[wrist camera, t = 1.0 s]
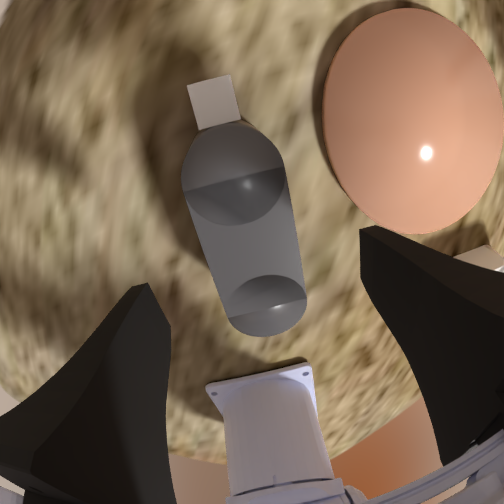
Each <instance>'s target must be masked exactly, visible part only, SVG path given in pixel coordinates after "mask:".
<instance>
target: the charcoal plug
mask: <svg viewBox="0 0 504 504" xmlns="http://www.w3.org/2000/svg"><path fill="white" fill-rule="evenodd" d="M187 88H188V92H189V96H190V99H191V103H192V107H193V110H194V114H195V118H196V121H197V125H198V129H199V130H200V131H199V132H198V134H197V135H196V136H195V138H194V140H193V142H192V144H191V146H190V148H189V151H188V153H187V155H186V157H185V159H184V162H183V165H182V171H181V185H182V189H183V193H184V196H185V199H186V202H187V205H188V208H189V211H190V214H191V217H192V220H193V223H194V226H195V229H196V232H197V235H198V238H199V240H200V243H201V246H202V249H203V252H204V255H205V258H206V260H207V263H208V266H209V269H210V271H211V274H212V277H213V280H214V282H215V285H216V288H217V291H218V293H219V296H220V299H221V301H222V304H223V307H224V309H225V312H226V315H227V317H228V319H229V322H230V323H231V324H232V326H233V327H234V328H236V329H237V330H238V331H240V332H242V333H244V334H247V335H250V336H256V337H267V336H273V335H277V334H280V333H282V332H284V331H286V330H288V329H290V328H291V327H293V326H294V325H295V324H296V323H297V322H298V321H299V320H300V319H301V318H302V316H303V314H304V312H305V310H306V306H307V297H306V290H305V283H304V276H303V270H302V264H301V257H300V251H299V245H298V239H297V233H296V227H295V221H294V215H293V210H292V204H291V199H290V193H289V188H288V183H287V177H286V172H285V167H284V163H283V160H282V157H281V155H280V153H279V151H278V150H277V148H276V147H275V145H274V144H273V143H272V142H271V141H270V140H269V139H268V138H267V137H265V136H264V135H263V134H262V133H261V132H260V131H259V130H257V129H256V128H255V127H254V126H253V125H251V124H249V123H247V122H245V121H243V120H240V119H241V117H240V113H239V109H238V105H237V101H236V97H235V93H234V89H233V85H232V81H231V77H230V74H229V75H225V76H220V77H216V78H212V79H208V80H205V81H201V82H197V83H194V84H190V85H187Z"/></svg>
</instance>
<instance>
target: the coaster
mask: <svg viewBox="0 0 504 504" xmlns="http://www.w3.org/2000/svg"><path fill="white" fill-rule="evenodd" d="M322 128H323V137H324V142H325V146H326V151H327V155H328V157H329V160H330V163H331V166H332V169H333V171H334V173H335V175H336V177H337V179H338V181H339V183H340V185H341V186H342V188H343V189H344V191H345V192H346V194H347V195H348V197H349V198H350V199H351V200H352V201H353V202H354V204H355V205H356V206H357V207H358V208H359V209H360V210H361V211H363V212H364V213H365V214H366V215H367V216H368V217H369V218H371V219H372V220H373V221H375V222H377V223H378V224H380V225H381V226H383V227H386V228H388V229H390V230H392V231H396V232H400V233H405V234H425V233H430V232H434V231H437V230H440V229H443V228H445V227H447V226H449V225H451V224H453V223H454V222H456V221H457V220H459V219H460V218H461V217H463V216H464V215H465V214H466V213H467V212H468V211H470V210H471V209H472V208H473V206H474V205H475V204H476V203H477V202H478V201H479V199H480V198H481V196H482V195H483V194H484V192H485V191H486V189H487V187H488V185H489V183H490V182H491V180H492V177H493V175H494V173H495V170H496V167H497V164H498V161H499V158H500V153H501V149H502V142H503V132H504V118H503V107H502V100H501V95H500V91H499V88H498V84H497V81H496V79H495V76H494V73H493V71H492V69H491V67H490V65H489V63H488V61H487V59H486V58H485V56H484V54H483V53H482V51H481V50H480V49H479V47H478V46H477V45H476V43H475V42H474V41H473V40H472V39H471V38H470V37H469V36H468V35H467V34H466V33H465V32H464V31H463V30H462V29H461V28H459V27H458V26H457V25H456V24H454V23H453V22H451V21H449V20H448V19H446V18H444V17H443V16H440V15H438V14H435V13H433V12H430V11H426V10H422V9H415V8H401V9H393V10H389V11H386V12H383V13H380V14H377V15H374V16H373V17H371V18H369V19H367V20H365V21H363V22H362V23H361V24H360V25H358V26H357V27H356V28H354V29H353V30H352V31H351V32H350V34H349V35H348V36H347V37H346V38H345V39H344V40H343V42H342V43H341V45H340V47H339V48H338V50H337V51H336V53H335V55H334V57H333V60H332V62H331V64H330V67H329V69H328V73H327V77H326V80H325V84H324V90H323V98H322Z"/></svg>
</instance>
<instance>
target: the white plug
mask: <svg viewBox="0 0 504 504" xmlns="http://www.w3.org/2000/svg"><path fill="white" fill-rule="evenodd" d="M453 258H456V259H459V260H462V261H465V262H468V263H471V264H474V265H477V266H480V267H484V268H487V269H491V270H495V271H499V272H503V273H504V257H503V256H501V255H500V254H499V253H498V252H497V251H495V250H494V249H493V248H492V247H491V246H489V245H483V246H481V247H478V248H475V249H473V250H470V251H468V252H465V253H462V254H460V255H457V256H454V257H453Z"/></svg>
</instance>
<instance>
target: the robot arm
mask: <svg viewBox="0 0 504 504" xmlns="http://www.w3.org/2000/svg"><path fill="white" fill-rule="evenodd" d="M359 235H360V277H361V280H362V283H363V285H364V287H365V289H366V291H367V293H368V295H369V297H370V299H371V301H372V303H373V304H374V306H375V308H376V309H377V311H378V312H379V314H380V315H381V317H382V318H383V320H384V321H385V323H386V325H387V326H388V328H389V329H390V331H391V332H392V334H393V336H394V337H395V339H396V340H397V342H398V344H399V345H400V347H401V348H402V350H403V352H404V354H405V356H406V358H407V360H408V362H409V364H410V366H411V369H412V371H413V373H414V375H415V378H416V380H417V383H418V385H419V388H420V390H421V393H422V395H423V398H424V401H425V404H426V407H427V409H428V413H429V416H430V419H431V422H432V425H433V429H434V433H435V437H436V441H437V446H438V450H439V454H440V460H441V462H442V464H443V467H442V468H440V469H438V470H436V471H434V472H432V473H430V474H428V475H426V476H424V477H422V478H420V479H418V480H416V481H414V482H412V483H410V484H407V485H405V486H403V487H400V488H398V489H395V490H393V491H391V492H388V493H386V494H383V495H380V496H378V497H375V498H372V499H370V500H367V498H366V497H365V495H364V494H363V493H362V492H361V491H360V490H358V489H355V488H354V487H353V486H350V485H347V486H343V482H342V479H341V478H337V479H335V478H334V474H333V471H332V468H331V464H330V460H329V457H328V453H327V450H326V446H325V443H324V439H323V436H322V432H321V429H320V425H319V422H318V418H317V417H318V415H317V407H316V398H315V390H314V382H313V374H312V367H311V364H310V363H308V362H304V363H300V364H296V365H292V366H288V367H284V368H280V369H276V370H272V371H268V372H264V373H259V374H255V375H250V376H245V377H241V378H236V379H231V380H225V381H220V382H215V383H210V384H207V385H206V392H207V393H208V395H209V396H210V398H211V400H212V401H213V403H214V404H215V406H216V407H217V409H218V410H219V412H220V413H221V414H222V416H223V417H224V430H225V443H226V454H227V466H228V475H229V486H230V496H231V497H226V504H420V503H422V502H425V501H427V500H429V499H431V498H432V497H435V496H436V495H438V494H440V493H442V492H444V491H446V490H448V489H449V488H451V487H453V486H455V485H456V484H458V483H460V482H461V481H463V480H465V479H466V478H468V477H469V479H468V480H467V484H466V487H465V488H464V489H463V490H461V491H460V492H458V493H456V494H454V495H453V496H451V497H449V498H447V499H445V500H444V501H442V502H440V503H438V504H504V273H503V272H499V271H495V270H491V269H487V268H484V267H480V266H477V265H474V264H471V263H468V262H465V261H462V260H459V259H456V258H453V257H451V256H448V255H446V254H443V253H441V252H438V251H436V250H433V249H431V248H429V247H426V246H424V245H422V244H420V243H417V242H415V241H413V240H410V239H408V238H406V237H404V236H401V235H399V234H397V233H395V232H392V231H390V230H387V229H385V228H382V227H379V226H376V225H374V226H371V227H367V228H363V229H359ZM170 358H171V329H170V324H169V322H168V321H167V319H166V317H165V315H164V313H163V311H162V309H161V307H160V306H159V304H158V302H157V300H156V298H155V296H154V294H153V292H152V290H151V288H150V286H149V284H148V283H145V284H141V285H137V286H132V287H131V288H130V289H129V290H128V291H127V292H126V293H125V295H124V296H123V297H122V298H121V299H120V300H119V302H118V303H117V304H116V305H115V307H114V308H113V309H112V310H111V311H110V313H109V314H108V315H107V316H106V318H105V319H104V320H103V321H102V323H101V324H100V325H99V326H98V328H97V329H96V330H95V331H94V332H93V334H92V335H91V336H90V337H89V338H88V339H87V341H86V342H85V343H84V344H83V345H82V347H81V348H80V349H79V350H78V351H77V352H76V353H75V354H74V356H73V357H72V358H71V359H70V360H69V361H68V362H67V363H66V364H65V365H64V366H63V367H62V368H61V369H60V370H59V371H58V372H57V373H56V374H55V375H54V376H52V377H51V378H50V379H49V380H48V381H47V382H46V383H45V384H44V385H42V386H41V387H40V388H39V389H38V390H37V391H36V392H34V393H33V394H32V395H31V396H29V397H28V398H27V399H25V400H24V401H23V402H21V403H20V404H19V405H17V406H16V407H15V408H13V409H12V410H10V411H9V412H7V413H6V414H4V415H2V416H0V475H1V476H2V477H4V478H5V479H7V480H9V481H10V482H12V483H14V484H15V485H17V486H19V487H21V488H23V489H24V490H25V493H24V496H22V495H20V494H18V493H15V492H13V491H11V490H8V489H5V488H3V487H1V486H0V504H177V503H176V498H175V494H174V489H173V484H172V478H171V472H170V466H169V458H168V447H167V435H166V399H167V388H168V378H169V368H170Z"/></svg>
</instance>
